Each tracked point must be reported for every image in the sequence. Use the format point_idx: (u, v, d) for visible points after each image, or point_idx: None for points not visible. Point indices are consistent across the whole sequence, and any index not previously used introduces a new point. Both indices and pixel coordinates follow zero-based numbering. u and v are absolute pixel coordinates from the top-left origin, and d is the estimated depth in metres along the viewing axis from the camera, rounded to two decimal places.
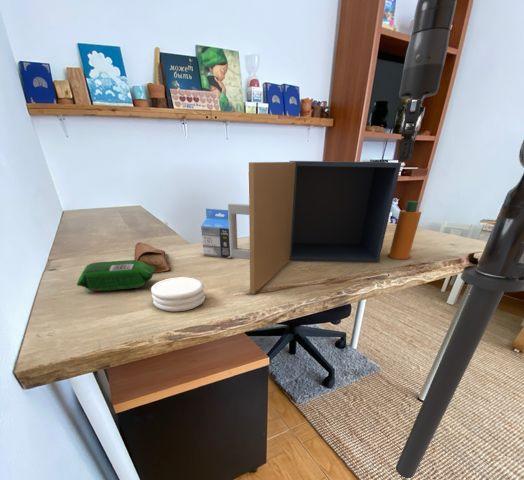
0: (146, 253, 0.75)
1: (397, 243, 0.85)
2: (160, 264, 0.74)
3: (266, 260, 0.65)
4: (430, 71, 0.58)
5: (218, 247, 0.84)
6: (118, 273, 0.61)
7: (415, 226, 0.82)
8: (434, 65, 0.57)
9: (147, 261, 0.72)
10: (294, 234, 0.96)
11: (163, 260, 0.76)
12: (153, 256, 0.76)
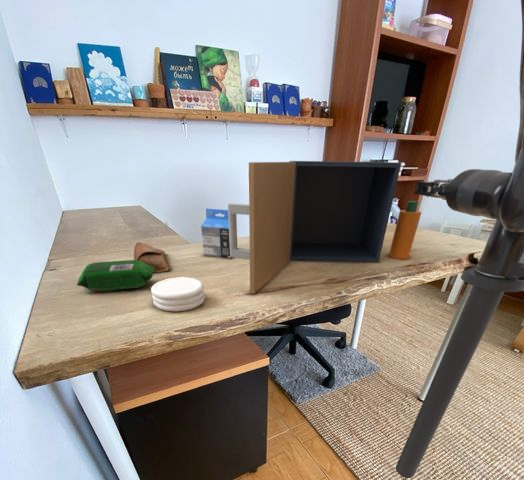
0: (146, 253, 0.75)
1: (397, 243, 0.85)
2: (160, 265, 0.74)
3: (266, 260, 0.65)
4: None
5: (218, 247, 0.84)
6: (118, 273, 0.61)
7: (415, 226, 0.82)
8: None
9: (147, 261, 0.72)
10: (294, 234, 0.96)
11: (163, 260, 0.76)
12: (153, 256, 0.76)
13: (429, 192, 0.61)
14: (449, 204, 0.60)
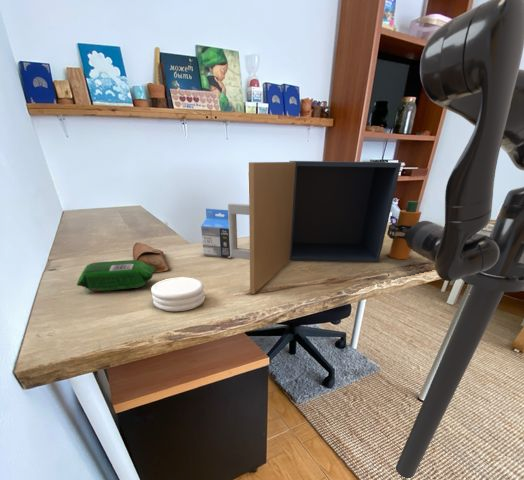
0: (145, 253, 0.75)
1: (397, 243, 0.85)
2: (159, 264, 0.74)
3: (266, 260, 0.65)
4: None
5: (218, 247, 0.84)
6: (118, 273, 0.61)
7: None
8: None
9: (146, 261, 0.72)
10: (294, 234, 0.96)
11: (162, 260, 0.76)
12: (152, 257, 0.76)
13: (392, 235, 0.79)
14: (408, 246, 0.77)
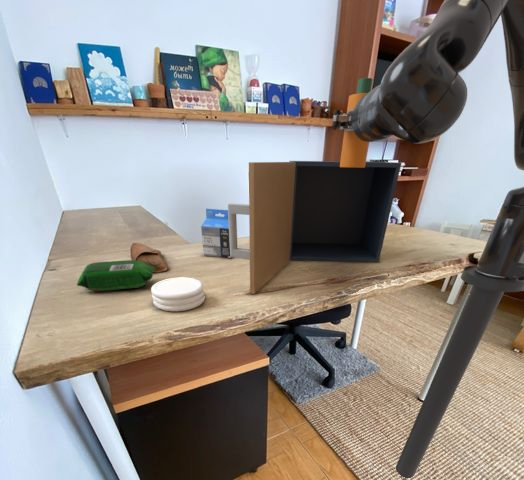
0: (143, 253, 0.74)
1: (347, 144, 0.63)
2: (158, 265, 0.74)
3: (266, 260, 0.65)
4: None
5: (218, 247, 0.84)
6: (118, 273, 0.61)
7: None
8: None
9: (145, 261, 0.72)
10: (294, 234, 0.96)
11: (161, 260, 0.76)
12: (151, 257, 0.76)
13: (334, 121, 0.56)
14: (356, 132, 0.55)
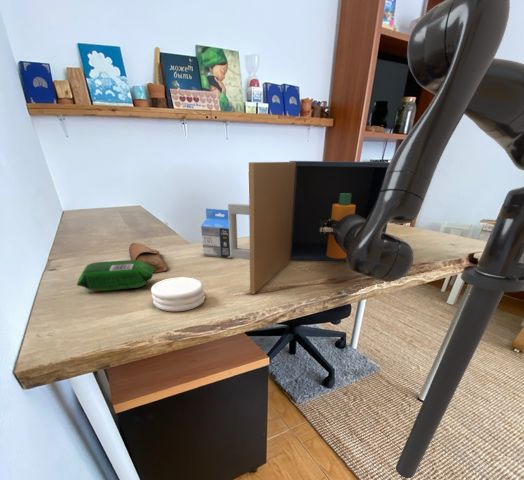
0: (143, 253, 0.74)
1: (332, 241, 0.76)
2: (158, 265, 0.74)
3: (266, 260, 0.65)
4: None
5: (218, 247, 0.84)
6: (118, 273, 0.61)
7: None
8: None
9: (145, 261, 0.72)
10: (294, 234, 0.96)
11: (160, 260, 0.76)
12: (150, 257, 0.76)
13: (320, 231, 0.69)
14: (337, 243, 0.67)
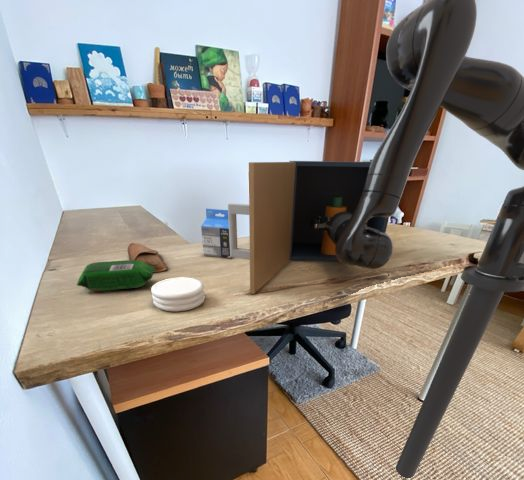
0: (142, 253, 0.74)
1: (325, 239, 0.84)
2: (157, 265, 0.74)
3: (266, 260, 0.65)
4: None
5: (218, 247, 0.84)
6: (118, 273, 0.61)
7: None
8: None
9: (144, 261, 0.72)
10: (294, 234, 0.96)
11: (159, 260, 0.76)
12: (149, 257, 0.76)
13: (315, 227, 0.76)
14: None
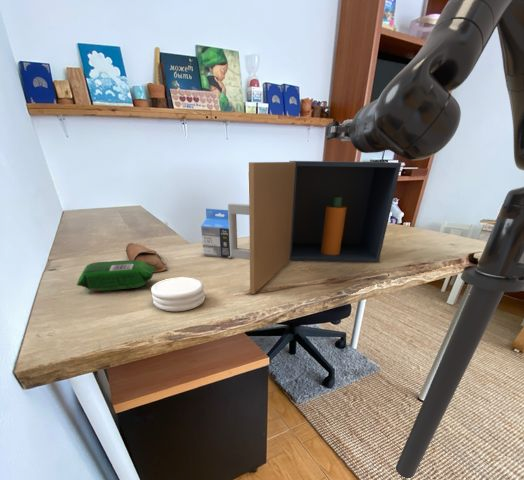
0: (141, 253, 0.74)
1: (325, 239, 0.84)
2: (156, 265, 0.74)
3: (266, 260, 0.65)
4: None
5: (218, 247, 0.84)
6: (118, 273, 0.61)
7: (341, 221, 0.81)
8: None
9: (143, 261, 0.72)
10: (294, 234, 0.96)
11: (158, 260, 0.76)
12: (148, 257, 0.76)
13: (333, 132, 0.57)
14: (354, 144, 0.56)
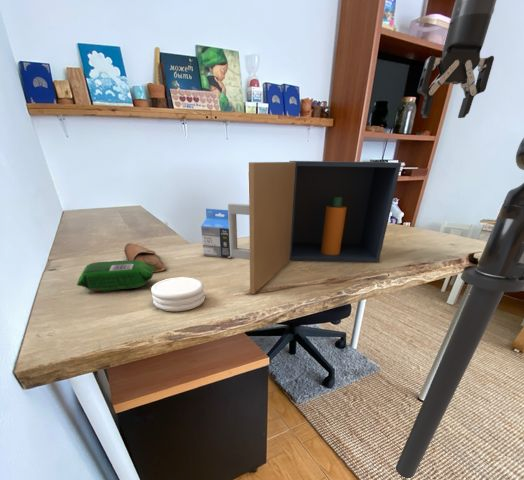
0: (140, 254, 0.74)
1: (325, 239, 0.84)
2: (156, 265, 0.74)
3: (266, 260, 0.65)
4: None
5: (218, 247, 0.84)
6: (118, 273, 0.61)
7: (341, 221, 0.81)
8: None
9: (143, 261, 0.72)
10: (294, 234, 0.96)
11: (157, 260, 0.76)
12: (148, 257, 0.76)
13: (431, 56, 0.64)
14: (457, 36, 0.60)
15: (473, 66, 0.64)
